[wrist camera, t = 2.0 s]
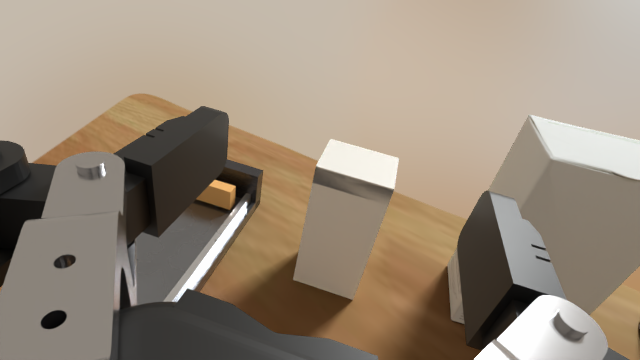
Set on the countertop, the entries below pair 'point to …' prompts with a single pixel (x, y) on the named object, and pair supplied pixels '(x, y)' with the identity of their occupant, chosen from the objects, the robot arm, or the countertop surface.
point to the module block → (344, 216)
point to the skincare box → (573, 206)
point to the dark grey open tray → (195, 240)
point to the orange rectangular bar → (219, 194)
